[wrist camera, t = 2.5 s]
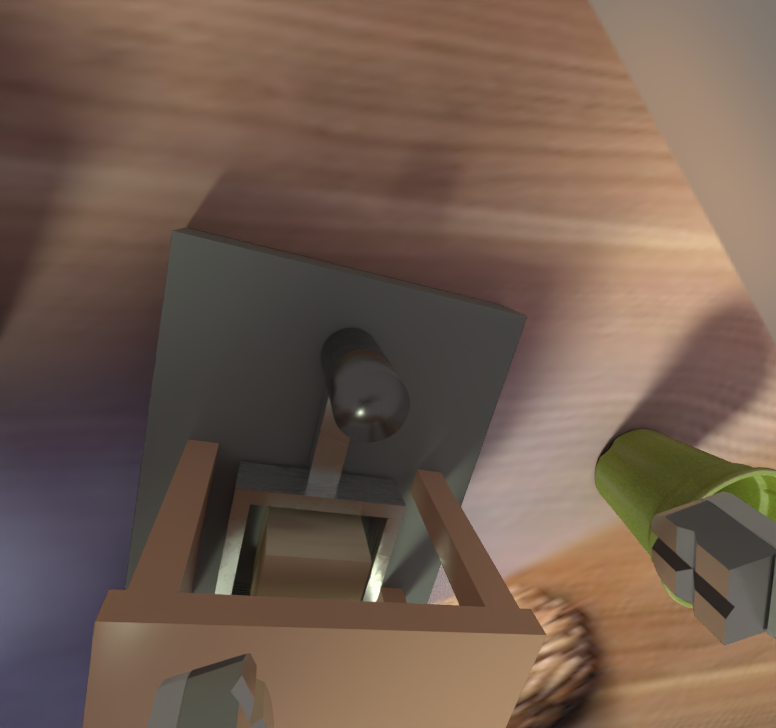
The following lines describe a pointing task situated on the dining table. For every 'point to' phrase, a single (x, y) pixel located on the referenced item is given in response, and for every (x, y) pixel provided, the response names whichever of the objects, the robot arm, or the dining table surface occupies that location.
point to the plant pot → (673, 482)
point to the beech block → (310, 555)
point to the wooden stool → (316, 630)
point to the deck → (310, 386)
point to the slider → (333, 459)
